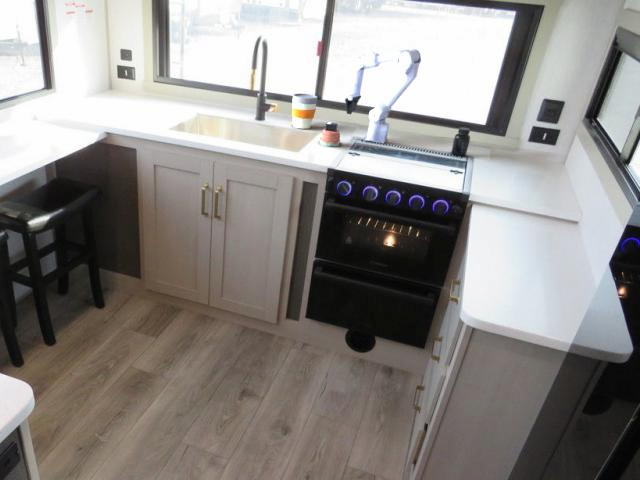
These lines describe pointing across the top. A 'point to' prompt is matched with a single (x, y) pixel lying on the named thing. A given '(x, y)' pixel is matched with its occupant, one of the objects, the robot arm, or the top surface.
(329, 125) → the binder clip
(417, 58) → the robot arm
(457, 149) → the supplement bottle
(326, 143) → the cup stack
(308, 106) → the reusable coffee cup
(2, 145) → the top surface
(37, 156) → the top surface
